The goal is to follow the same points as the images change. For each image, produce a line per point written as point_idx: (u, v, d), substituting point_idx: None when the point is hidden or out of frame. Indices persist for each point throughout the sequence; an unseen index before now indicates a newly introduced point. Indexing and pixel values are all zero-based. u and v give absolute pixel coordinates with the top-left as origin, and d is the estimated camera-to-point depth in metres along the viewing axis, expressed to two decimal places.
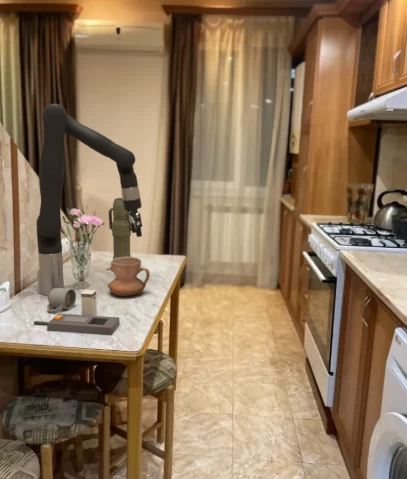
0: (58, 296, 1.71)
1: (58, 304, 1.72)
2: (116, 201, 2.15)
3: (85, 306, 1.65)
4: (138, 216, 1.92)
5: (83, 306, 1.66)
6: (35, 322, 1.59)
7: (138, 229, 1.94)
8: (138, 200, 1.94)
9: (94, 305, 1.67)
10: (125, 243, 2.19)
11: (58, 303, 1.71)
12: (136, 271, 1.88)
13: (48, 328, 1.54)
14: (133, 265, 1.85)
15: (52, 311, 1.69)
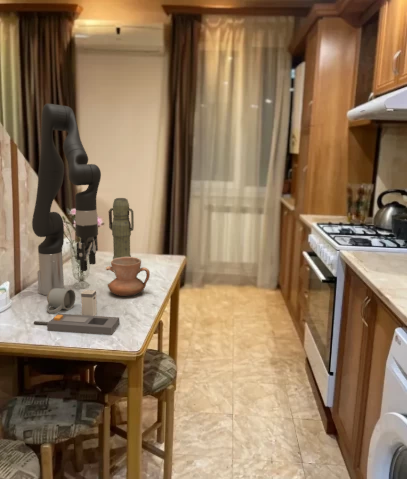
0: (57, 296, 1.71)
1: (57, 304, 1.71)
2: (116, 201, 2.15)
3: (85, 306, 1.65)
4: (81, 246, 1.56)
5: (83, 306, 1.66)
6: (35, 322, 1.59)
7: (82, 262, 1.59)
8: (89, 227, 1.58)
9: (94, 305, 1.67)
10: (125, 243, 2.19)
11: (57, 303, 1.71)
12: (136, 271, 1.88)
13: (48, 328, 1.54)
14: (133, 265, 1.85)
15: (51, 311, 1.69)
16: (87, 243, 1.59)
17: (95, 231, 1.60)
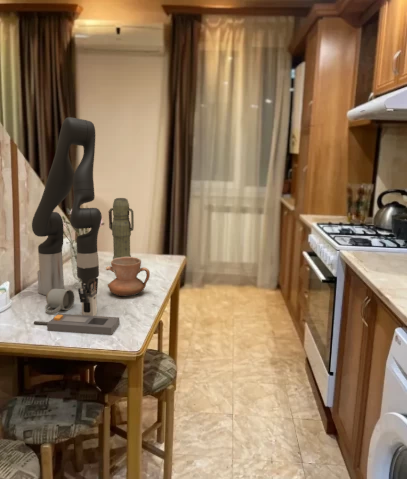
0: (56, 297, 1.70)
1: (56, 305, 1.71)
2: (116, 201, 2.15)
3: None
4: (82, 292, 1.60)
5: (83, 306, 1.66)
6: (35, 322, 1.59)
7: (85, 304, 1.64)
8: (90, 269, 1.61)
9: (94, 305, 1.67)
10: (125, 243, 2.19)
11: (56, 304, 1.70)
12: (136, 271, 1.88)
13: (48, 328, 1.54)
14: (133, 265, 1.85)
15: (50, 312, 1.68)
16: (88, 286, 1.63)
17: (96, 273, 1.63)
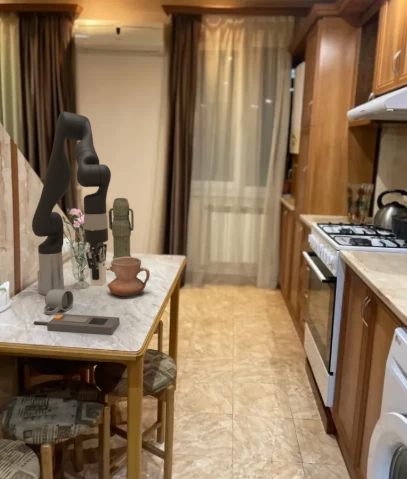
0: (55, 297, 1.70)
1: (55, 306, 1.70)
2: (116, 201, 2.15)
3: None
4: (91, 257, 1.46)
5: (91, 273, 1.51)
6: (35, 322, 1.59)
7: (93, 270, 1.50)
8: (99, 232, 1.47)
9: (103, 272, 1.53)
10: (125, 243, 2.19)
11: (55, 305, 1.70)
12: (136, 271, 1.88)
13: (48, 328, 1.54)
14: (133, 265, 1.85)
15: (49, 313, 1.68)
16: (97, 251, 1.49)
17: (105, 236, 1.49)
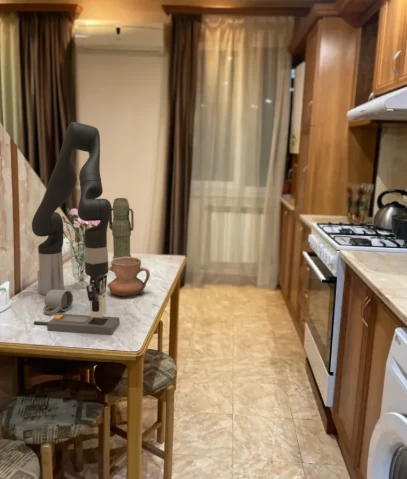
0: (55, 298, 1.69)
1: (54, 306, 1.70)
2: (116, 201, 2.15)
3: None
4: (91, 290, 1.48)
5: (91, 305, 1.54)
6: (35, 322, 1.59)
7: (93, 302, 1.52)
8: (99, 265, 1.49)
9: (103, 304, 1.55)
10: (125, 243, 2.19)
11: (54, 305, 1.69)
12: (136, 271, 1.88)
13: (48, 328, 1.54)
14: (133, 265, 1.85)
15: (48, 313, 1.67)
16: (97, 284, 1.51)
17: (105, 269, 1.51)
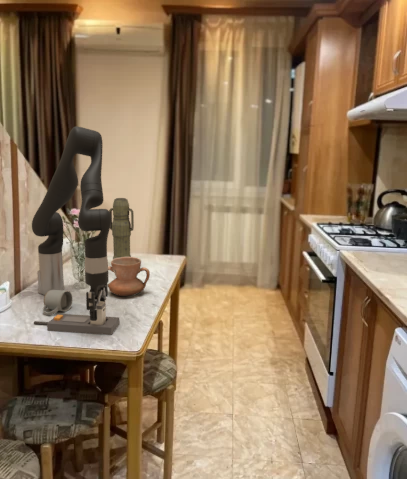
0: (54, 298, 1.69)
1: (54, 306, 1.69)
2: (116, 201, 2.15)
3: None
4: (90, 296, 1.48)
5: None
6: (35, 322, 1.59)
7: (91, 311, 1.50)
8: (100, 275, 1.50)
9: (103, 317, 1.56)
10: (125, 243, 2.19)
11: (54, 305, 1.69)
12: (136, 271, 1.88)
13: (48, 328, 1.54)
14: (133, 265, 1.85)
15: (48, 313, 1.67)
16: (97, 291, 1.51)
17: (105, 279, 1.52)
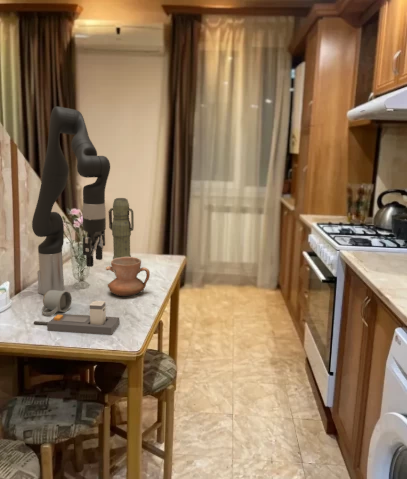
0: (53, 299, 1.69)
1: (53, 307, 1.69)
2: (116, 201, 2.15)
3: (94, 319, 1.54)
4: (87, 241, 1.50)
5: (91, 318, 1.54)
6: (35, 322, 1.59)
7: (88, 257, 1.53)
8: (97, 221, 1.52)
9: (103, 317, 1.56)
10: (125, 243, 2.19)
11: (53, 306, 1.69)
12: (136, 271, 1.88)
13: (48, 328, 1.54)
14: (133, 265, 1.85)
15: (47, 314, 1.66)
16: (94, 238, 1.53)
17: (103, 226, 1.54)
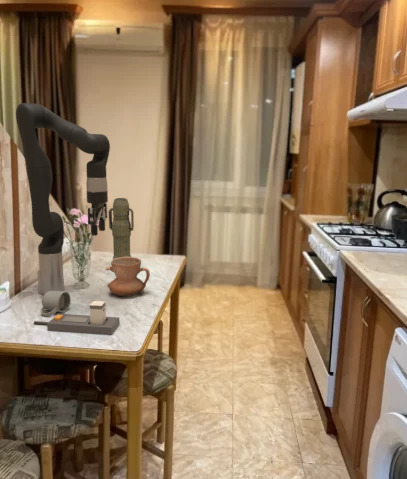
0: (52, 299, 1.68)
1: (52, 307, 1.68)
2: (116, 201, 2.15)
3: (94, 319, 1.54)
4: (91, 211, 1.65)
5: (91, 318, 1.54)
6: (35, 322, 1.59)
7: (92, 226, 1.68)
8: (100, 194, 1.67)
9: (103, 317, 1.56)
10: (125, 243, 2.19)
11: (52, 306, 1.68)
12: (136, 271, 1.88)
13: (48, 328, 1.54)
14: (133, 265, 1.85)
15: (45, 314, 1.66)
16: (97, 209, 1.69)
17: (105, 198, 1.69)
